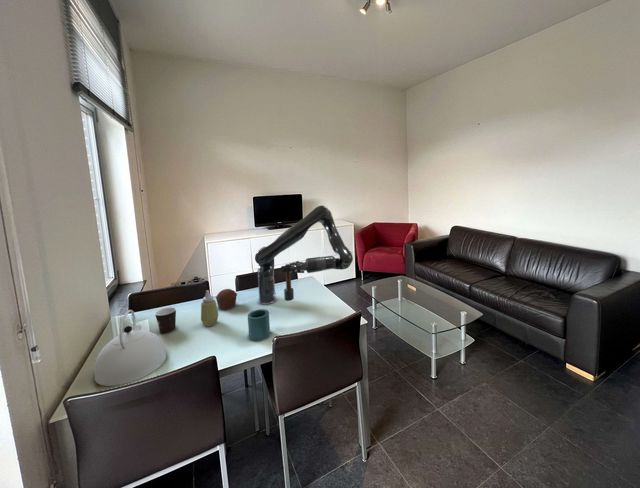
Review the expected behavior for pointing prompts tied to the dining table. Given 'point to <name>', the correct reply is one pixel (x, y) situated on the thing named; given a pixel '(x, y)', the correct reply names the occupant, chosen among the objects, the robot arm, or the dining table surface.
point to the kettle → (129, 356)
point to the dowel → (288, 286)
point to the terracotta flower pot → (226, 299)
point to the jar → (258, 325)
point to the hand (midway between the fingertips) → (281, 269)
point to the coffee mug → (166, 319)
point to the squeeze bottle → (209, 310)
